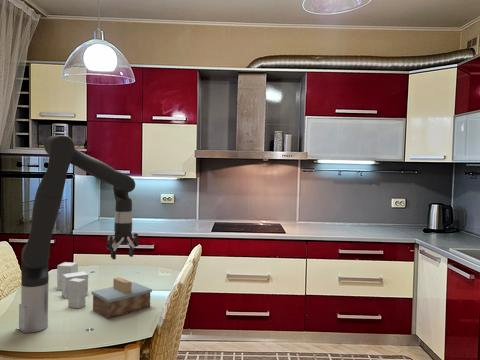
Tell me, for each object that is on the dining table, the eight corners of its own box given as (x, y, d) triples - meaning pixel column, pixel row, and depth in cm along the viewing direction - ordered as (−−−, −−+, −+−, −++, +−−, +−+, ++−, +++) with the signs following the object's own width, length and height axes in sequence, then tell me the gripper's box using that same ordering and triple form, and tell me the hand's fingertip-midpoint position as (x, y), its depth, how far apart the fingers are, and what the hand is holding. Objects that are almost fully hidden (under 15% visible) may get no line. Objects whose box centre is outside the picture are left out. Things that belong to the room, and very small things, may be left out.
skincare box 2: (85, 305, 175) (86, 279, 175) (79, 308, 171) (79, 281, 171) (74, 303, 177) (74, 277, 177) (67, 307, 173) (68, 280, 172)
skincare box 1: (65, 299, 183) (65, 277, 182) (61, 295, 188) (62, 274, 187) (88, 295, 189) (88, 273, 189) (83, 291, 194) (84, 270, 194)
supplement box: (78, 286, 202) (78, 262, 202) (70, 291, 195) (70, 266, 194) (64, 285, 203) (64, 261, 202) (56, 290, 195) (56, 265, 195)
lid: (108, 302, 160) (109, 288, 160) (91, 294, 170) (91, 281, 170) (152, 291, 175) (152, 279, 175) (133, 284, 185) (133, 272, 185)
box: (109, 318, 161) (109, 302, 160) (92, 309, 170) (93, 294, 170) (150, 307, 175) (150, 291, 175) (133, 299, 185) (133, 284, 185)
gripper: (113, 223, 164) (112, 261, 164) (142, 221, 175) (141, 256, 175) (104, 221, 169) (103, 258, 170) (132, 219, 180) (132, 254, 180)
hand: (122, 257), depth 172 cm, fingers open, 8 cm apart
